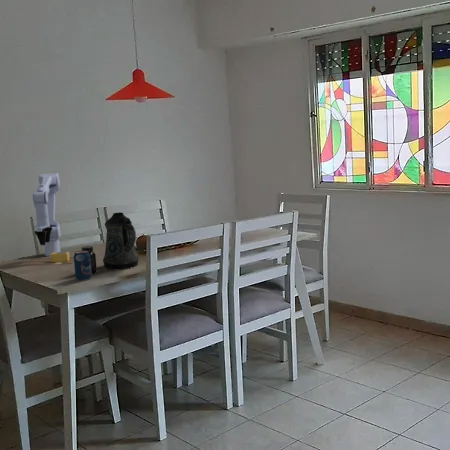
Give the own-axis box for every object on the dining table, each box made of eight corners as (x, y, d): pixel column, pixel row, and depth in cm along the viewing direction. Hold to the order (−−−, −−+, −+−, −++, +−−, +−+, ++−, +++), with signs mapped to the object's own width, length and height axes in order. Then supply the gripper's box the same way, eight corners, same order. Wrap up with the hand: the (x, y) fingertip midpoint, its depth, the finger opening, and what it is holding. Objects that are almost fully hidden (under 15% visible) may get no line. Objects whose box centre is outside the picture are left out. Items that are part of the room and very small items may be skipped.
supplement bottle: (78, 274, 273) (76, 248, 271) (87, 270, 279) (84, 245, 277) (91, 275, 270) (89, 248, 268) (100, 271, 276) (97, 245, 274)
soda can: (85, 281, 259) (83, 253, 257) (72, 280, 262) (69, 253, 260) (95, 277, 265) (93, 250, 263) (82, 276, 268) (79, 249, 266)
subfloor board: (31, 261, 307) (31, 259, 306) (79, 258, 307) (78, 256, 306) (21, 268, 291) (21, 266, 291) (71, 265, 291) (71, 263, 291)
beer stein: (114, 261, 296) (110, 210, 292) (150, 262, 290) (147, 210, 286) (96, 269, 281) (92, 215, 277) (134, 270, 274) (129, 215, 270)
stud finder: (53, 260, 300) (52, 252, 300) (69, 259, 300) (69, 251, 300) (51, 262, 296) (50, 254, 295) (67, 261, 296) (66, 253, 295)
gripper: (38, 214, 306) (41, 241, 308) (29, 218, 291) (32, 246, 293) (52, 213, 306) (55, 240, 308) (44, 218, 291) (47, 246, 293)
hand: (45, 243), depth 301 cm, fingers open, 7 cm apart
